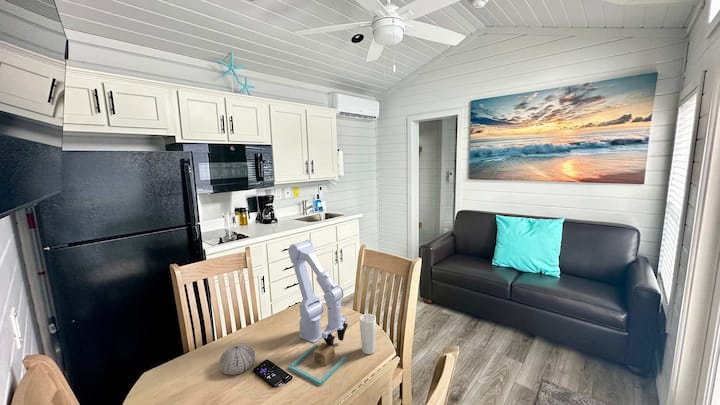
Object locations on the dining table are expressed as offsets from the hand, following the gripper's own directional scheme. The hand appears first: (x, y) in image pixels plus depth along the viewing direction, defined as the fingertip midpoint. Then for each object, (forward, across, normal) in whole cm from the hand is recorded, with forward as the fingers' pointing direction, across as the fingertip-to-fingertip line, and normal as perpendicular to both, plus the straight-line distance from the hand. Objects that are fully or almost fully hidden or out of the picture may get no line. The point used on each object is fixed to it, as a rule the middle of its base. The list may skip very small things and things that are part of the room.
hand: (335, 344), depth 125 cm
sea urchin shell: (+2, -28, +27) cm, 39 cm away
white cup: (+2, +6, -13) cm, 14 cm away
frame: (+2, -11, 0) cm, 12 cm away
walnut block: (+2, -8, 0) cm, 8 cm away
